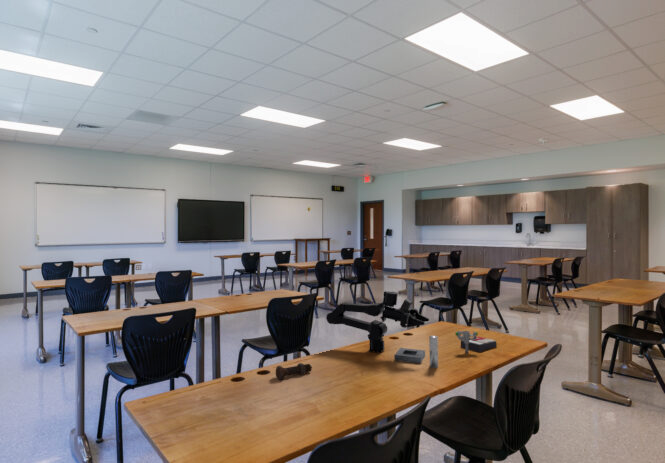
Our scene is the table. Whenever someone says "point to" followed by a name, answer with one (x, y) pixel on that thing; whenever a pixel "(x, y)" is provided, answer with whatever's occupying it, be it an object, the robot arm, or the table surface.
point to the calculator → (479, 344)
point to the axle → (433, 351)
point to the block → (409, 355)
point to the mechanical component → (466, 337)
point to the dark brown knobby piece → (292, 370)
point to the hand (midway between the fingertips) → (426, 321)
